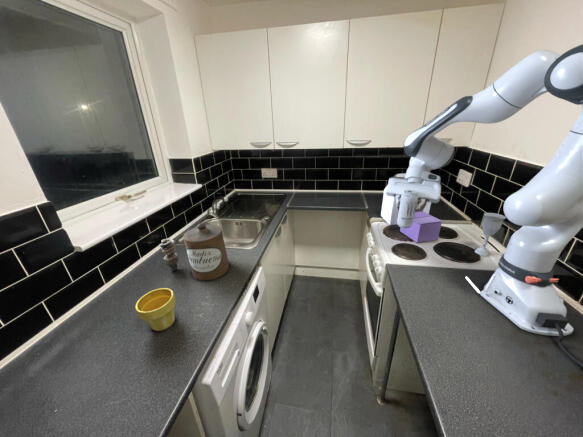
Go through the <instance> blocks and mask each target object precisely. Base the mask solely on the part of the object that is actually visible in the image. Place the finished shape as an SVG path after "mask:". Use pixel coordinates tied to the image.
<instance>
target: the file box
mask: <svg viewBox="0 0 583 437" xmlns="http://www.w3.org/2000/svg"><path fill="white" fill-rule="evenodd" d="M429 216H433V215H431V214H430V213H429V214H428V213H425V212H423V211H420V212H415V215H414V218H422V217H429ZM442 225H443V221H442V222H435V223H428V224H419V223H417V222H415V221H413V225H412V226H411V227H410V228H402V227H399V228H400V229H399V232H401V233H402V234H403V235H404V236H406V237H408V238H409V239H410V240H412V241H414V242H415V243H416V244H417V243H424V242H430V241H437V240H438V239H439V236H440V232H441V229H442V228H441V227H442Z"/></svg>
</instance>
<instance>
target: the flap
mask: <svg viewBox="0 0 583 437" xmlns="http://www.w3.org/2000/svg"><path fill="white" fill-rule="evenodd" d="M413 221H415V222H417V223H419V224H428V223H435V222H442V223H443V220H442V219H439V218H437V217H435V216H433V215H432V216H429V217H422V218H414V220H413Z"/></svg>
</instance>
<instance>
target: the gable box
mask: <svg viewBox="0 0 583 437" xmlns="http://www.w3.org/2000/svg"><path fill="white" fill-rule="evenodd" d="M405 175H406V172H404V173H396V174H394V176H397V177H405ZM387 186H388V184H387V185H386V186H385V188H384V189H383V196H382V204H381V211H380V217H382V219H383V220H384V221H385V222H386V223H387V224H388V225H390V226H393V225H395V226H396V225H398V224H397V219H398V213H399V207H397V206H396V203H397V201H396V197H392V196H387V194H386V188H387ZM399 201H401V198H400V199H399ZM420 203H421V201H417V204H420ZM431 205H432V203H431V202H425V204H423V205H422V206H421V207H420V210H416V211H415V212H420V211H423V212H425V213H428V214H430V209H431V207H432V206H431Z"/></svg>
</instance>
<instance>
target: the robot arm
mask: <svg viewBox="0 0 583 437" xmlns="http://www.w3.org/2000/svg"><path fill="white" fill-rule="evenodd" d="M546 93H549V94H550V95H552V96H554V97H556V98H558V99H561V100H563V101H566V102H569V103H571V104H574V105H578V106H580V105H581V111H580V113H579V115H578V117H577V119H576V121H574V123H573V125H572V126H571V128H570V130H569V132H568V133H567V135H566V136H565V137H564V139H563V140H562V142H561V143H560V145H559V147H558V148H557V150H556V151H555V153H554V154H553V155H552V157H551V158H550V159H549V161H548V162H547V163H546V164H545V166H544V167H543V168H542V169H541V170H539V172H537V174H536V175H535V176H533V177H532V178H531V179H530V180H529V182H527V183H526V184H525V185H524V186H522V187H521V188H520V189H519V190H517V191H516V192H513V193H512V194H510V195H509V196H508V197H507V198H506V199H505V201H504V203H503V207H502V208H503V214H504V216H505V217H506V219H507V220H508V221H509V222H510V223H513V224H515V225H517V226H521V227H520V228H519V229H517V230H515V232H513V234H512V235H511V236H510V238H509V241H508V243H507V246H506V248H505V251H504V253H502V254H501V256H500V258H499V259H498V264H497V265H498V267H497V268H496V270H495V271H494V272H493V274H492V275H491V277H490V278H489V280H488V281H487V283H485V285H484V286H483V289H482V290H481V291H480V290H479V288H478V287H477V286H476V285H475V284H474V283H473V282H472V281H471V279H470V278H469V277H468V276H465V279H466V281H468V283H469V284H470V285H471V286H472V287H473V289H474V290H475V291H476V292H477V293H478V294H479V295H480V297H482V298H483V299H484V300H486V301H487V302H488V303H489V304H490V305H491V306H492V307H494V308H495V309H497V310H498V312H500V313H501V314H503V315H504V316H505V317H506V318H507V319H508V320H510V321H511V322H512V323H513V324H515V325H516V326H517V327H518V328H520V329H521V330H523V331H525V332H528V333H532V334H536V335H542V336H549V337H550V336H552V337H557V339H556V344H557V346H558V347H559V348H560V350H561V351H563V352H564V353H565V354H566V355H567V356H568V357H569V358H570V359H571V360H572V361H573V362H574V363H576V364H577V365H578V366H579V367H580V368H582V369H583V362H582V361H581V360H579V359H578V358H576V357H575V356H573V354H572V353H570V352H569V351H568V350H567V349H566V348H565V346H564V345H563V340H564V339H565V337H566V336H570V335H571V334H573V332H574V330H575V329H574V327H573V326H572V325H571V324H570V323H569V322H570V320H569V319H568V318H567V313H568V310H567V307H566V306H565V304H564V303H565V302H564V299H563V298H562V297H561V296H560V295H559V293H558V292H557V290H556V289H555V286H554V285H553V283H558V282H559V280H560V279H559V278H554V269H553V268H554V267H555V265H556V263H557V262H558V258H559V257H560V255H561V253H562V252H563V250H564V248H565V247H566V246H567V245H568V244H569V242H570V241H572V239H573V238H574V237H575V236H576V235H577V234H578V233H579V232H580V231H581V230H582V229H583V43H582V44H580V45H577V46H575V47H572V48H570V49H569V50H566V51H565V52H564V53H562V54H561V55H560V54H559V53H557V52H555V51H553V50H549V49H539V50H537V51H534V52H532V53H530V54H528V55H527V56H525V57H524V58H523V59H521V60H520V61H518V62H517V63H515V65H513V66H512V67H510V68H508V70H507V71H505V72H504V73H503V74H501V75H500V76H499V77H498V78H496V80H495V81H494V82H492V83H490V85H489V86H487V87H486V88H484V89H483V90H481V91H479V92H476V93H474V94H472V95H471V94H470V95H465V96H463V97H461V98H459V99H458V100H456V101H454V102H453V103H452V104H451V105H449V106H448V107H446V108H445V109H444V110H442V111H441V112H440V113H438V114H437V115H435V116H434V117H433V118H432V119H431V120H429V121H427V122H426V123H425V124H423V125H422V126H421V127H419V128H417V129H415V130H414V131H412V132H411V133H410V134H409V135H408V136H407V137H406V138H405V140H404V141H403V150H404V154H405V155H406V156H409V157H410V159H409V162H408V163H409V164H408V168H407V169H406V172H405V173H406V175H405V177H397V176H395V175H394V176H391V177H389V179H388V182H387V185H388V186H387V185H386V187H387V188H386V187H385V188H386V194H387V196H392V197H396V201H397V203H396V206H397V208H399V207H400V201H399V199H400V198H401V195H402V194H403V193H404V191H405V190H414V191H417V195H418V201H421V203H420V204H417V205H416V208H415V209H416V210H420V207H421V206H422V205H423V204H425V202H431V204H432V203H433V204H438V203H439V202H440V200H441V196H442V195H441V194H442V185H441V176H440V175H437V174H434V173H432V172H431V171H432V170H438V169H441V168H444V167H447V166H448V165H450V163H451V162H452V160H453V158H454V156H455V153H456V152H455V151H456V150H455V146H454V145H452V144H451V143H449V141H448V142H447V141H445V140H443V139H441V138H439V137H437V136H436V135H437V134H439V133H440V132H441V131H443V130H444V129H446V128H447V127H449V126H450V125H453V124H456V123H463V122H464V123H476V124H477V123H478V124H486V125H488V124H491V125H492V124H497V123H501V122H503V121H505V120H508V119H509V118H511V117H512V116H514V115H516V114H517V113H518V112H520V111H522V109H524V108H525V107H527V106H528V105H529V104H531V103H532V102H533V101H535V100H536V99H538V98H539V97H541V96H542V95H544V94H546Z"/></svg>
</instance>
